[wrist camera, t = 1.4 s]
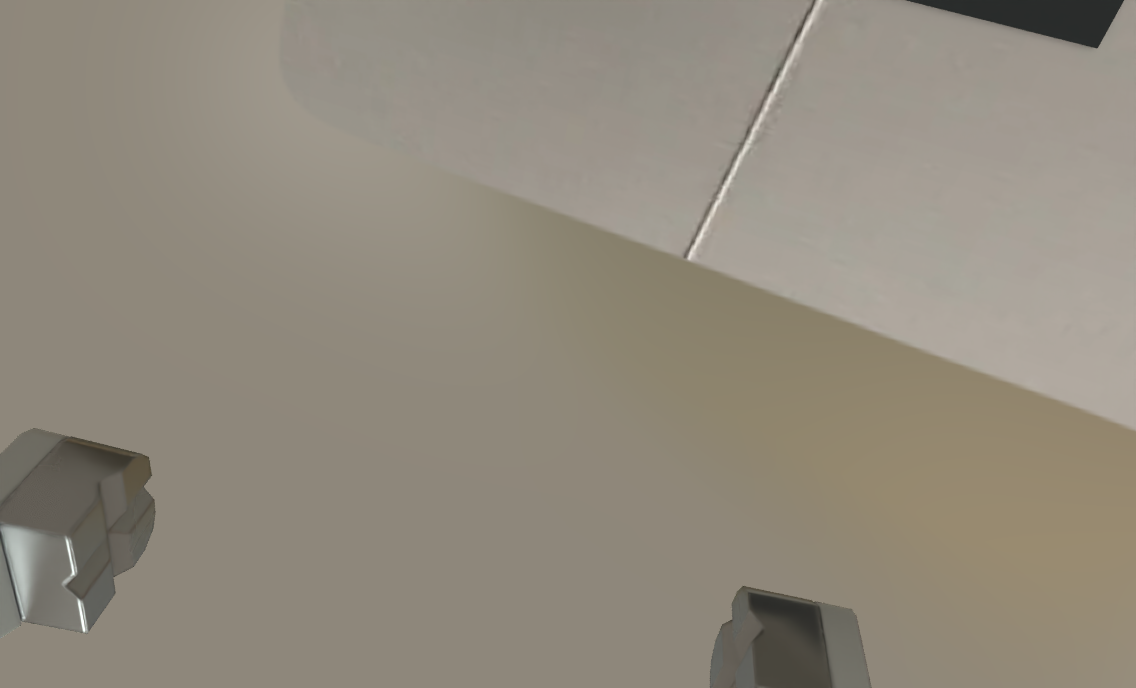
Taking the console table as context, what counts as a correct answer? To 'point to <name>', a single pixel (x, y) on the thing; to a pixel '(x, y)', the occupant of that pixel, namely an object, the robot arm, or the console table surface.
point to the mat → (1042, 16)
